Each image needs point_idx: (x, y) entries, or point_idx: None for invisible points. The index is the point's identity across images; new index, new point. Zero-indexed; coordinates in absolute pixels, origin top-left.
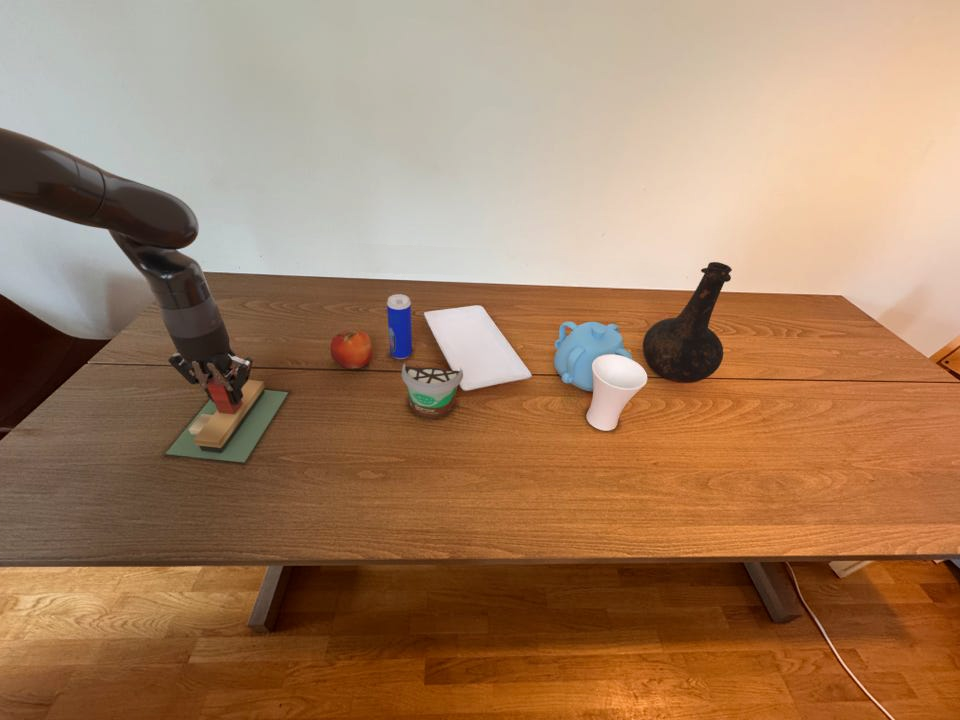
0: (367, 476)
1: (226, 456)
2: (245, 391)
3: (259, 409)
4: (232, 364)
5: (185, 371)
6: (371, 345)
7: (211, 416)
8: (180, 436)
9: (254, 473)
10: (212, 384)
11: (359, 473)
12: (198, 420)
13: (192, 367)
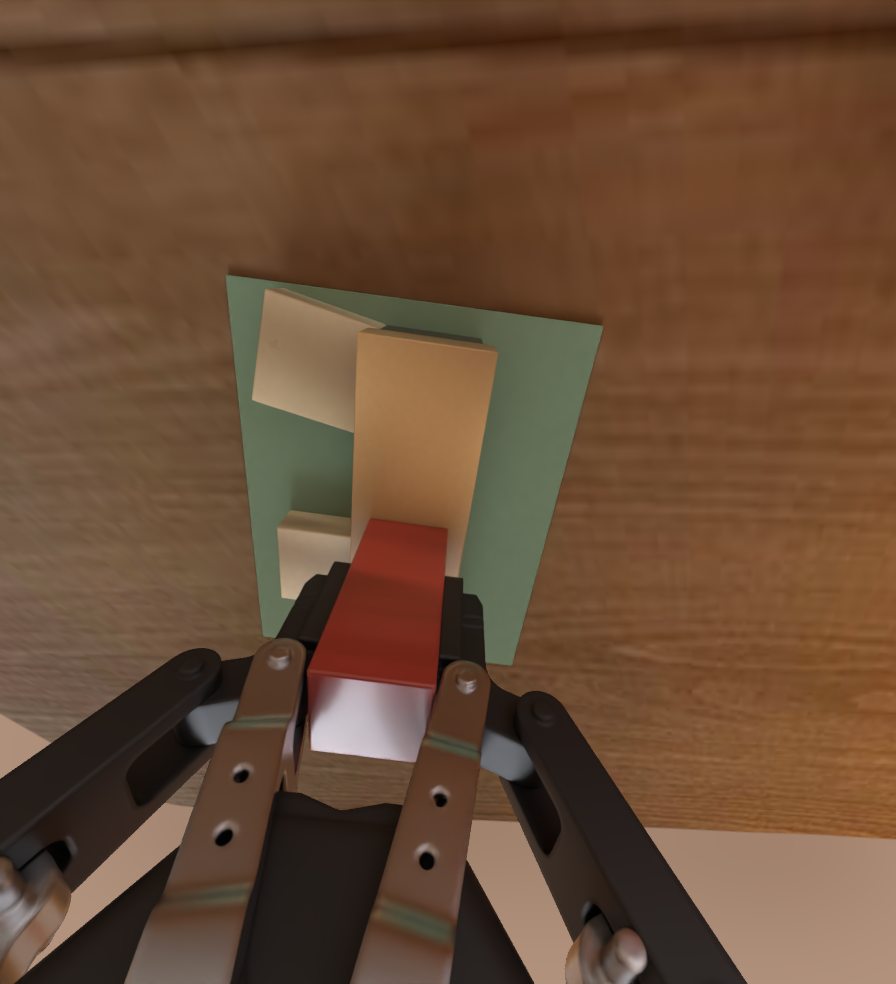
0: (880, 706)
1: None
2: (426, 445)
3: (488, 453)
4: (470, 821)
5: (122, 840)
6: None
7: (325, 540)
8: (260, 580)
9: (549, 689)
10: (345, 748)
11: (859, 698)
12: (288, 559)
13: (125, 780)
